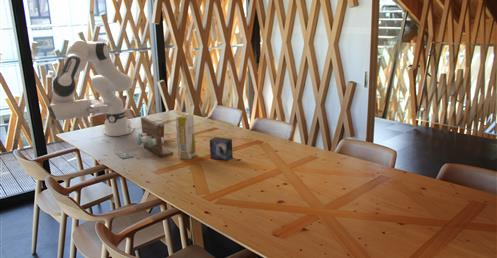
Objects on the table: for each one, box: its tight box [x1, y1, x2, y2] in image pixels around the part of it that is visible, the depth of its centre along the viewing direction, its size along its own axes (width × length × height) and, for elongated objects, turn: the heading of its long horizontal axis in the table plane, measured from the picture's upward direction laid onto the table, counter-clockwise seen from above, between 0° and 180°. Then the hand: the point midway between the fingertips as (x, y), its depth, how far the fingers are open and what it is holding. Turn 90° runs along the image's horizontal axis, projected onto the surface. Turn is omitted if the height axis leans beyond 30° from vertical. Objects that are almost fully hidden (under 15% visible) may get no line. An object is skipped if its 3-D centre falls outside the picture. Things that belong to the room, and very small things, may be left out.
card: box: [115, 150, 134, 160], centre depth 233 cm, size 6×12×1 cm, turn 34°
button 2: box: [148, 137, 165, 147], centre depth 229 cm, size 8×4×4 cm, turn 124°
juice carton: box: [175, 112, 196, 160], centre depth 224 cm, size 9×8×24 cm
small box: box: [209, 136, 234, 162], centre depth 222 cm, size 11×6×10 cm, turn 62°
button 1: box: [138, 132, 147, 137], centre depth 240 cm, size 8×4×4 cm, turn 124°
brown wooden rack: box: [140, 116, 174, 159], centre depth 236 cm, size 8×23×18 cm, turn 34°
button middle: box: [136, 136, 152, 146], centre depth 232 cm, size 8×4×4 cm, turn 124°
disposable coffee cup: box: [152, 119, 166, 139], centre depth 256 cm, size 10×10×12 cm
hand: (111, 104), depth 220 cm, fingers closed
